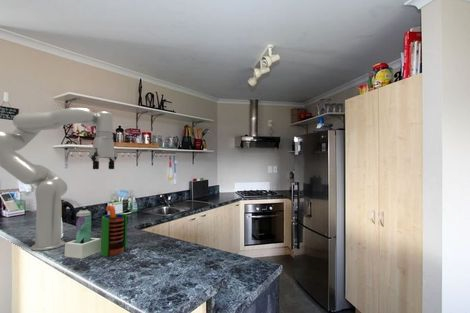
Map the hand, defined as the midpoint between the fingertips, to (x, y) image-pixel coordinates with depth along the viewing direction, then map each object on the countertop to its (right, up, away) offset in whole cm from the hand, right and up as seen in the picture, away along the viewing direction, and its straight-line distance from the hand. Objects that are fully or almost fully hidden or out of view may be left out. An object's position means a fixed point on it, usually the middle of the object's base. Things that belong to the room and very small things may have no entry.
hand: (103, 169), depth 125 cm
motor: (+14, -36, -19) cm, 42 cm away
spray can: (+2, -36, -20) cm, 41 cm away
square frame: (+2, -35, -20) cm, 41 cm away
